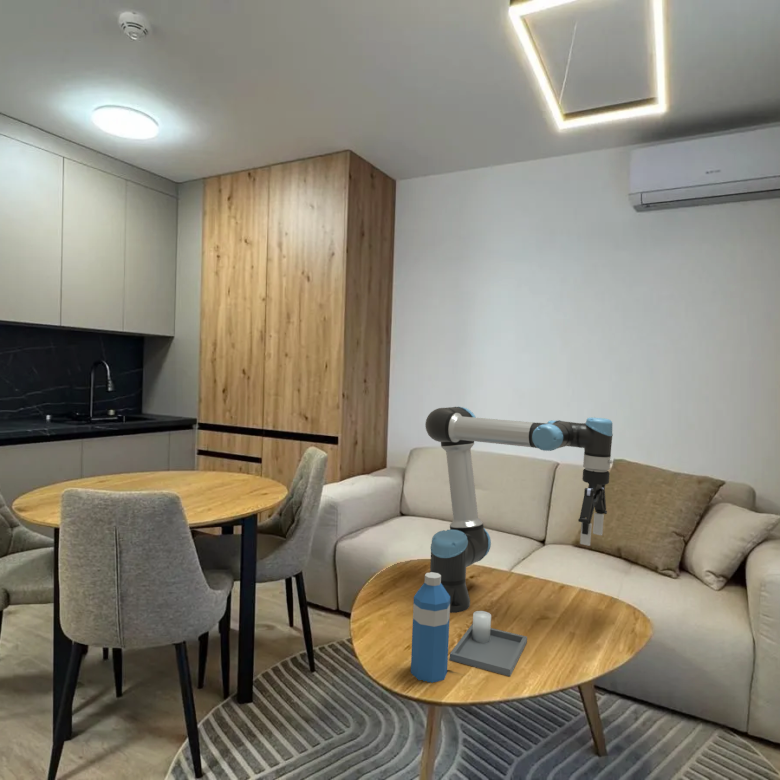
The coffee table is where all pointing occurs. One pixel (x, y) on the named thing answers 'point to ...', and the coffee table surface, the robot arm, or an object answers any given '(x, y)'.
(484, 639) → the white rounded column
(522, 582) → the coffee table surface
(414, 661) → the water bottle
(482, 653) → the tray
